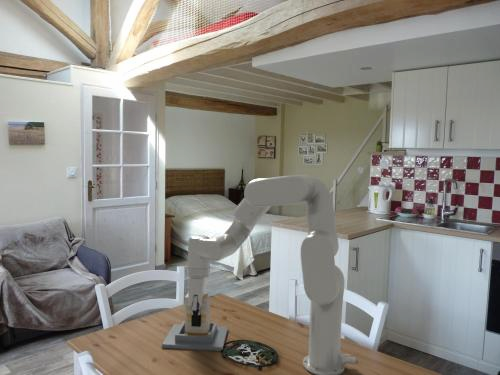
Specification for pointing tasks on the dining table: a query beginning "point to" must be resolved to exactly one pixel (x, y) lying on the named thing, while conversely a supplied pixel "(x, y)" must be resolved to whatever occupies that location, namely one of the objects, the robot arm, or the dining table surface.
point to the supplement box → (205, 317)
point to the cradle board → (196, 338)
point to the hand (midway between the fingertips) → (197, 322)
